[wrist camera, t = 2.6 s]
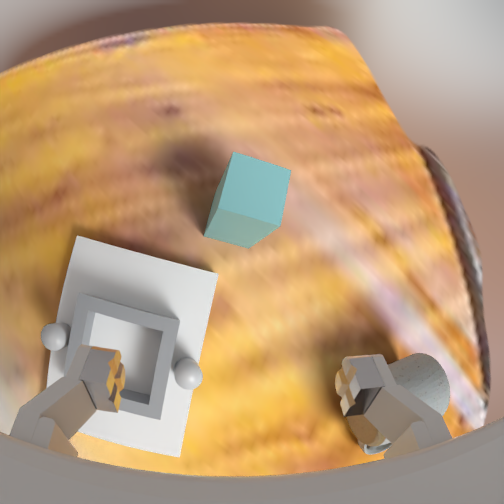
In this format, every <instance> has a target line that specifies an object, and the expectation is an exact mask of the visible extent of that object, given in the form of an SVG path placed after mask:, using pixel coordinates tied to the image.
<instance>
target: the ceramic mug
mask: <svg viewBox="0 0 504 504" xmlns="http://www.w3.org/2000/svg"><path fill="white" fill-rule="evenodd" d="M388 367H389V369H390V371H391V373H392V375H393V378H394V380H395V382H396V384H397V385H401V386H403V387H404V388H405V389H407V390H408V391H409V392H411V393H412V394H414V395H415V396H416V397H418V398H419V399H420V400H422V401H423V402H425V403H426V404H427V405H429V406H430V407H431V408H433V409H434V410H436V411H437V412H438V413H440V414H441V415H442V416H443V415H444V413H445V412H446V410H447V408H448V405H449V398H450V387H449V382H448V379H447V376H446V373H445V371H444V370H443V368H442V367H441V365H440V364H439V363H438V362H437V361H436V360H435V359H434V358H433V357H431V356H429V355H427V354H423V353H416V354H413V355H410V356H408V357H405V358H403V359H401V360H398V361H396V362H393V363H391V364H388ZM346 417H347V420H348V423H349V426H350V428H351V430H352V432H353V433H354V435H355V436H356V437H357V438H358V444H359V446H360V447H361V449H362V450H363V451H364V452H365V453H366V454H370V455H371V454H377V453H380V452H382V451H385V450H386V449H388V448H390V447H391V445H392V443H391V442H390V441H389V440H388V439H387V438H386V437H385V436H384V435H383V434H382V433H381V432H380V431H379V430H378V429H377V428H376V427H375V426H374V425H373V424H372V423H371V422H370V421H369V420H368V419H367V418H366V417H365V416H364V414H363V415H355V416H346Z"/></svg>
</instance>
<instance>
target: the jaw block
mask: <svg viewBox="0 0 504 504" xmlns="http://www.w3.org/2000/svg"><path fill="white" fill-rule="evenodd" d="M290 173H291V170H289V169H286V168H283V167H280V166H277V165H274V164H271V163H268V162H265V161H262V160H258V159H255V158H252V157H249V156H246V155H242V154H239V153H236V152H233V154H232V156H231V158H230V160H229V163H228V165H227V167H226V169H225V172H224V174H223V176H222V179H221V181H220V183H219V185H218V188H217V190H216V192H215V196H214V199H213V203H212V207H211V210H210V214H209V218H208V221H207V225H206V229H205V233H204V236H205V237H208V238H212V239H216V240H219V241H223V242H227V243H230V244H234V245H238V246H242V247H245V248H250V247H252V246H253V245H255V244H256V243H257V242H259V241H260V240H262V239H263V238H264V237H266V236H267V235H269V234H270V233H271V232H273V231H274V230H276V229H277V228H278V227H280V225H281V220H282V215H283V210H284V205H285V200H286V194H287V189H288V184H289V179H290Z"/></svg>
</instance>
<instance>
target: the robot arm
mask: <svg viewBox="0 0 504 504" xmlns="http://www.w3.org/2000/svg"><path fill="white" fill-rule="evenodd" d="M120 360H121V353H120V351H119V350H114V349H108V348H102V347H96V346H89V345H83V344H81V345H80V346H79V347H78V349H77V351H76V353H75V356H74V358H73V361H72V363H71V365H70V368H69V370H68V373H67V375H66V377H61V378H60V379H59V380H57V381H56V382H55V383H53V384H52V385H50V386H49V387H48V388H46V389H45V390H44V391H42V392H41V393H40V394H38V395H37V396H36V397H34V398H33V399H32V400H30V401H29V402H27V403H26V404H25V405H23V406H22V407H21V408H20V409H19V412H18V414H17V417H16V419H15V422H14V425H13V427H12V430H11V433H10V436H9V435H7V434H4V433H2V432H0V504H504V417H502V418H500V419H498V420H496V421H494V422H492V423H490V424H487V425H485V426H483V427H480V428H478V429H475V430H473V431H471V432H468V433H466V434H463V435H460V436H458V437H455V438H452V437H451V435H450V433H449V430H448V428H447V426H446V424H445V422H444V420H443V417H442V415H441V414H440V413H438V412H437V411H436V410H434V409H433V408H431V407H430V406H429V405H427V404H426V403H425V402H423V401H422V400H420V399H419V398H418V397H416V396H415V395H414V394H412V393H411V392H409V391H408V390H407V389H405V388H404V387H403V386H401V385H397V384H396V382H395V380H394V378H393V375H392V373H391V371H390V369H389V367H388V365H387V363H386V361H385V359H384V357H383V355H381V354H375V355H361V356H348V357H345V358H344V359H343V361H342V363H341V364H342V368H341V369H340V370H338V372H337V374H336V377H335V388H336V392H337V394H338V395H339V396H341V397H342V400H341V402H340V405H341V408H342V411H343V415H344V417H345V416H355V415H363V414H364V416H365V417H366V418H367V419H368V420H369V421H370V422H371V423H372V424H373V425H374V426H375V427H376V428H377V429H378V430H379V431H380V432H381V433H382V434H383V435H384V436H385V437H386V438H387V439H388V440H389V441H390V442H391V443H392V445H391V447H390V448H389V449H388V450H387V451H386V452H385V453H384V458H385V459H382V460H377V461H373V462H368V463H363V464H358V465H353V466H348V467H342V468H335V469H329V470H322V471H314V472H305V473H296V474H284V475H269V476H198V475H182V474H171V473H161V472H153V471H145V470H138V469H132V468H125V467H120V466H114V465H109V464H104V463H99V462H95V461H90V460H86V459H82V458H78V457H77V456H78V452H77V450H76V449H75V448H74V446H73V445H72V444H71V443H70V441H69V439H70V438H71V437H72V436H73V435H74V434H75V433H76V432H77V431H78V430H79V429H80V428H81V427H82V426H83V425H84V424H85V423H86V422H87V421H88V420H89V419H90V418H91V417H92V415H93V414H94V413H95V412H96V411H97V410H101V411H108V412H115V413H118V410H119V406H120V401H121V396H120V394H119V392H120V391H121V390H123V389H124V384H125V368H124V365H123V364H122V363H121V362H120Z"/></svg>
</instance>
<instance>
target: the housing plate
mask: <svg viewBox="0 0 504 504" xmlns="http://www.w3.org/2000/svg"><path fill="white" fill-rule="evenodd" d="M217 279H218V274H217V273H213V272H209V271H205V270H202V269H198V268H194V267H190V266H186V265H182V264H179V263H175V262H171V261H167V260H164V259H160V258H156V257H152V256H149V255H145V254H141V253H138V252H134V251H131V250H127V249H123V248H120V247H116V246H113V245H109V244H106V243H102V242H99V241H95V240H92V239H88V238H85V237H81V236H78V235H77V238H76V241H75V245H74V248H73V252H72V255H71V259H70V262H69V266H68V270H67V274H66V278H65V282H64V286H63V290H62V295H61V299H60V304H59V309H58V314H57V319H56V323H52V324H47V325H46V326H44V328H43V329H42V331H41V340H42V343H43V344H44V346H45V347H46V348H47V349H49V350H51V355H50V362H49V370H48V378H47V388H48V387H49V386H50V385H52V384H53V383H55V382H56V381H57V380H59V379H60V378H61V377H66V375H67V373H68V370H69V368H70V365H71V363H72V361H73V358H74V356H75V353H76V351H77V349H78V347H79V346H80V345H81V344H83V345H89V346H96V347H102V348H108V349H114V350H119V351H120V353H121V360H120V362H121V363H122V364H123V365H124V368H125V384H124V389H123V390H121V391H120V392H119V394H120V396H121V401H120V406H119V410H118V413H115V412H108V411H101V410H97V411H96V412H95V413H94V414H93V415H92V417H91V418H90V419H89V420H88V421H87V422H86V423H85V424H84V425H83V426H82V427H81V428H80V429H79V430H78V432H81V433H84V434H87V435H90V436H93V437H96V438H99V439H103V440H106V441H110V442H113V443H117V444H121V445H124V446H128V447H132V448H137V449H141V450H145V451H150V452H154V453H159V454H164V455H170V456H175V457H180V453H181V447H182V442H183V437H184V432H185V427H186V422H187V417H188V412H189V407H190V402H191V397H192V392H193V389H195V388H197V387H198V386H199V385H200V384H201V382H202V378H203V375H202V372H201V369H200V367H199V365H198V364H199V359H200V354H201V350H202V345H203V341H204V336H205V332H206V327H207V323H208V318H209V314H210V309H211V305H212V300H213V296H214V292H215V287H216V283H217Z"/></svg>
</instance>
